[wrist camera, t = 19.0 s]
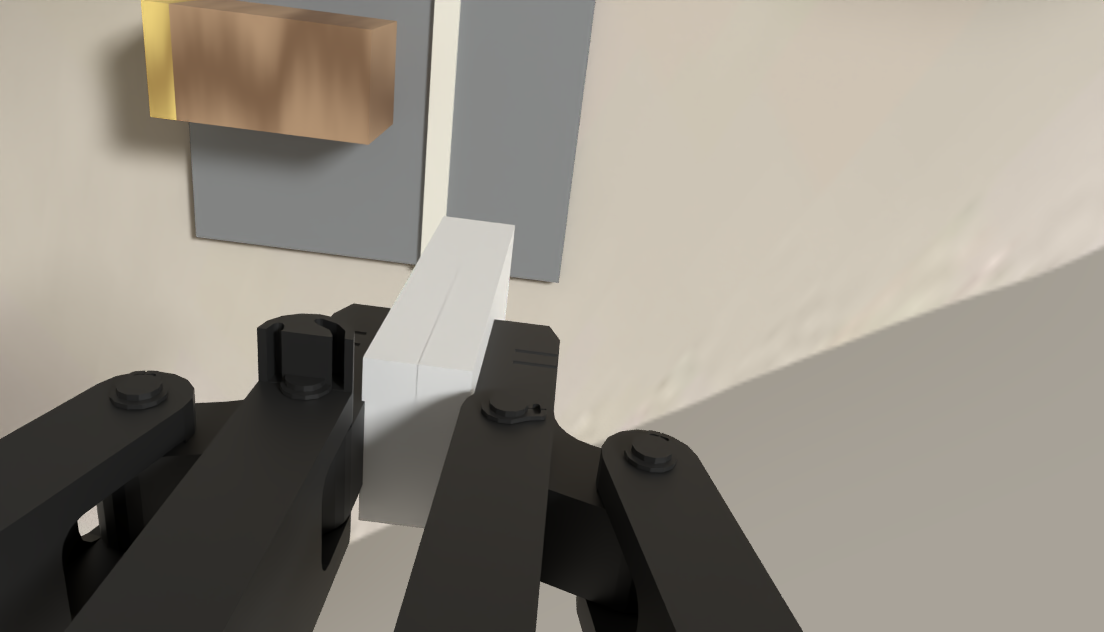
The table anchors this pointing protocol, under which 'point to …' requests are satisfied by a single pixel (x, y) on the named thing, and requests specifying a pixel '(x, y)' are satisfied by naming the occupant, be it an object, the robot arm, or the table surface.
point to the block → (270, 68)
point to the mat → (421, 141)
